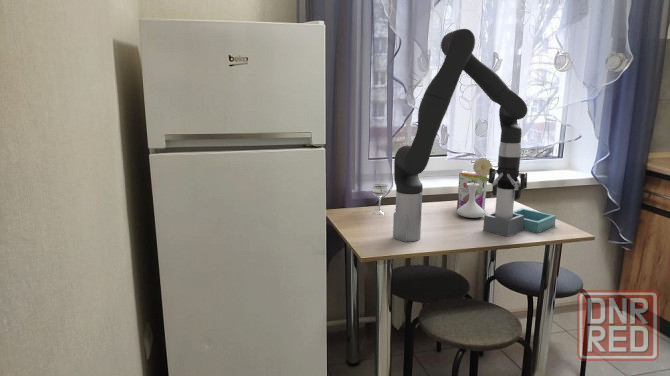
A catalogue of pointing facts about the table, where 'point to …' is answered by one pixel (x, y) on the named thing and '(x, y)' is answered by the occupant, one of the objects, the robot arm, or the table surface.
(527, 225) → the tray
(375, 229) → the table surface
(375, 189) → the wineglass
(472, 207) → the flower in vase
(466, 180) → the candy bar box
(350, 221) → the table surface
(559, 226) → the table surface
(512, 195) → the travel mug
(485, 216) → the holder sleeve
